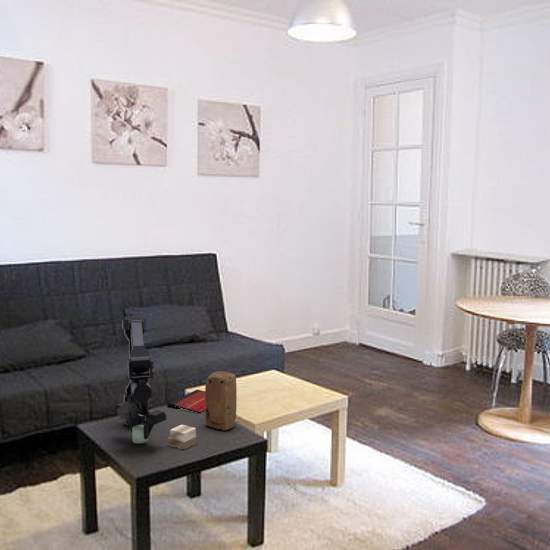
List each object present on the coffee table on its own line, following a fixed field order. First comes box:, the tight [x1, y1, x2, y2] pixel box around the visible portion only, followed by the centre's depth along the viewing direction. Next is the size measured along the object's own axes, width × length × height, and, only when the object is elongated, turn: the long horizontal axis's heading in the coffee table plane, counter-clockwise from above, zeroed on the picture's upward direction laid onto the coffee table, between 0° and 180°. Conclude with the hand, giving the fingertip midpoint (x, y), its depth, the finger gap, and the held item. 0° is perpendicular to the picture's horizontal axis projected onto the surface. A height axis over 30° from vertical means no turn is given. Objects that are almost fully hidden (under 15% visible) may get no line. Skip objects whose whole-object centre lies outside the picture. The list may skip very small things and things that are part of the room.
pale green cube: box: [131, 425, 149, 444], centre depth 214 cm, size 5×5×4 cm
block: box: [204, 370, 238, 431], centre depth 230 cm, size 11×8×20 cm
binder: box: [166, 389, 206, 414], centre depth 257 cm, size 16×2×21 cm
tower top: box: [169, 424, 197, 442], centre depth 214 cm, size 6×6×3 cm
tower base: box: [166, 435, 198, 448], centre depth 215 cm, size 7×7×3 cm
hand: (140, 437), depth 214 cm, fingers closed on pale green cube, 5 cm apart
